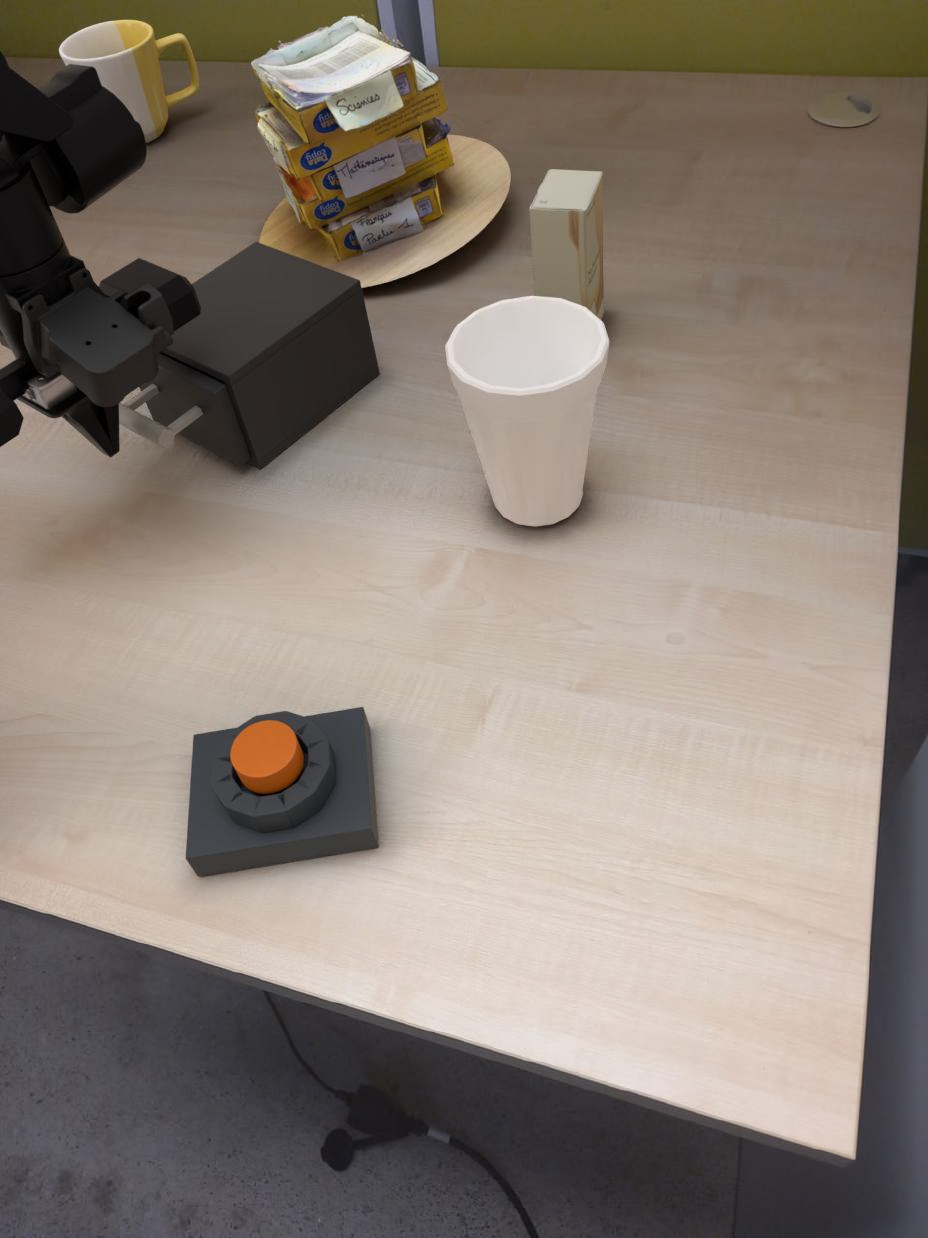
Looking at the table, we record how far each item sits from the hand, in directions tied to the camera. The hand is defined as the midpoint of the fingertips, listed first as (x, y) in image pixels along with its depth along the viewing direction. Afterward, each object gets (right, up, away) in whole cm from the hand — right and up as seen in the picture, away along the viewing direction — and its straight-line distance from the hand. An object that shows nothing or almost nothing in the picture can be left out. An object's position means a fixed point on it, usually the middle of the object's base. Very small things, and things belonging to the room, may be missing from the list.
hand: (111, 452), depth 73 cm
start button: (+15, -20, -17) cm, 30 cm away
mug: (-11, +44, +45) cm, 64 cm away
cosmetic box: (+34, +12, +11) cm, 38 cm away
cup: (+30, -4, -1) cm, 31 cm away
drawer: (+7, +4, +8) cm, 11 cm away
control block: (+15, -22, -15) cm, 31 cm away
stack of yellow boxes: (+18, +26, +26) cm, 41 cm away
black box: (+10, +6, +10) cm, 15 cm away
